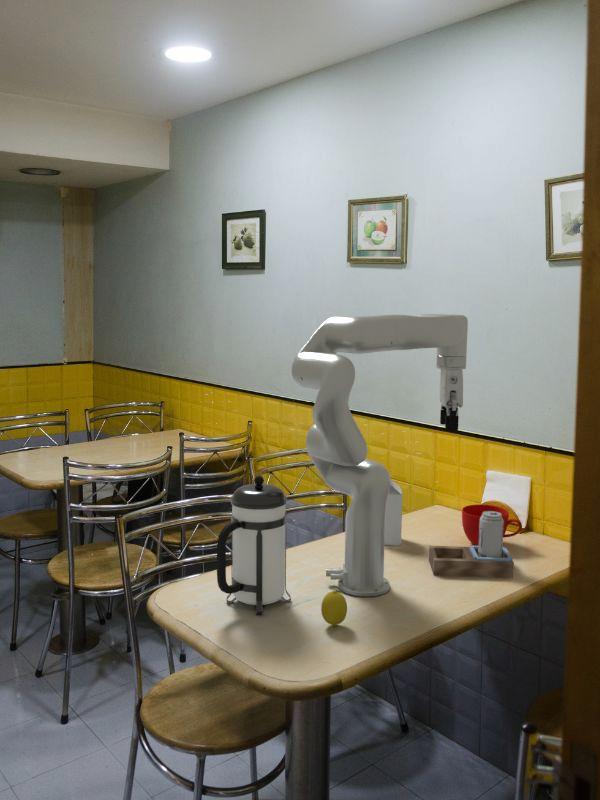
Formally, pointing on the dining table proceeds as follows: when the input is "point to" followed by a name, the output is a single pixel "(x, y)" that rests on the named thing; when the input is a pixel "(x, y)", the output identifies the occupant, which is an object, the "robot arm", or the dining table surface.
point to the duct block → (469, 562)
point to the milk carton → (393, 515)
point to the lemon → (334, 608)
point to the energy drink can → (490, 534)
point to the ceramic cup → (472, 521)
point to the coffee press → (255, 545)
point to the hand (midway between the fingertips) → (448, 427)
